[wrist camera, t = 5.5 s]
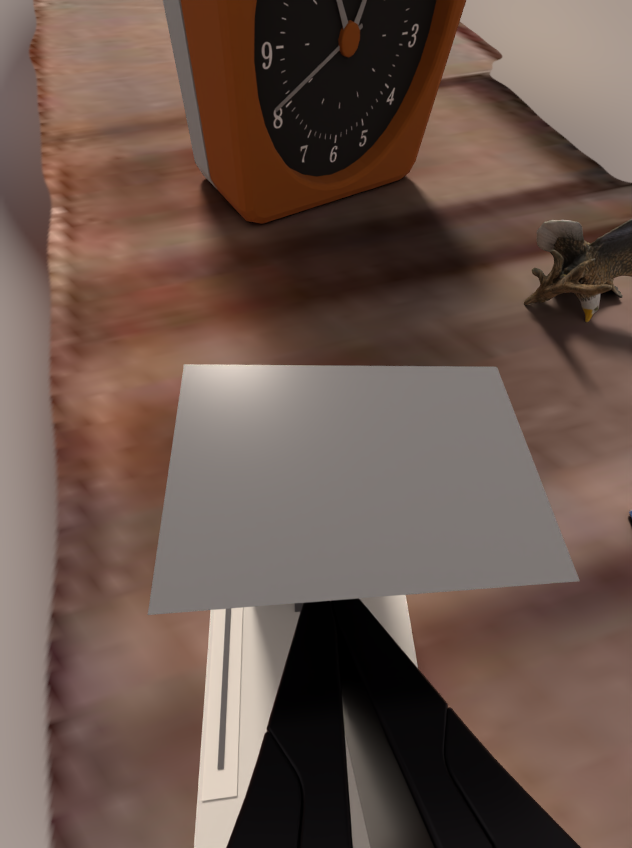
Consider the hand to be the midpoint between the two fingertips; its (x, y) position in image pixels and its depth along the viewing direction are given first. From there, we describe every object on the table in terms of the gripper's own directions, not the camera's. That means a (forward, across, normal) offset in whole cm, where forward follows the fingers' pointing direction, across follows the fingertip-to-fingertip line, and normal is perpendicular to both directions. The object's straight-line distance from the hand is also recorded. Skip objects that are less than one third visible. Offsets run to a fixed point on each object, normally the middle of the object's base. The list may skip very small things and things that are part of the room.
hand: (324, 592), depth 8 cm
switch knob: (+5, 0, +3) cm, 6 cm away
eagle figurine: (+19, -22, -8) cm, 30 cm away
